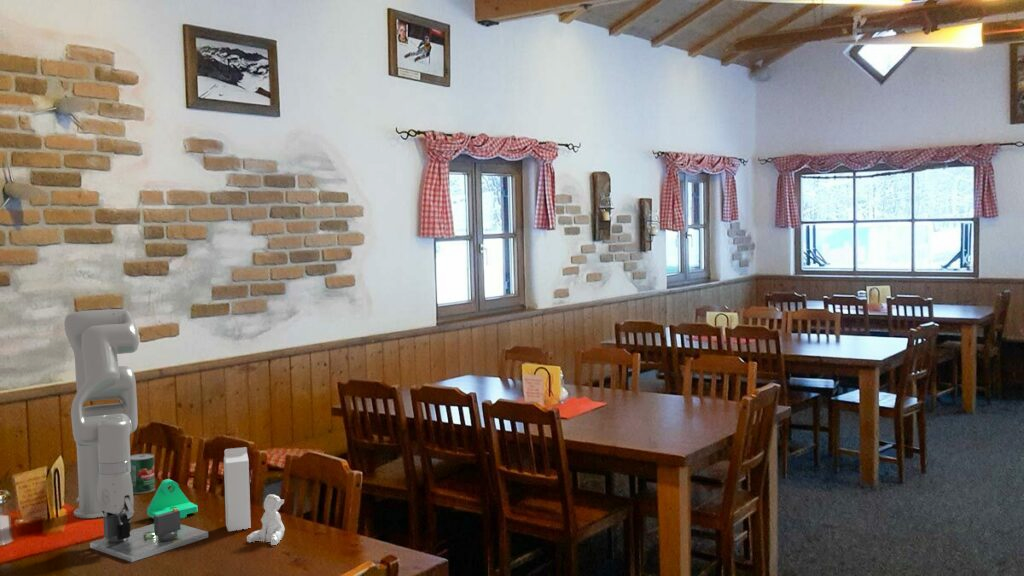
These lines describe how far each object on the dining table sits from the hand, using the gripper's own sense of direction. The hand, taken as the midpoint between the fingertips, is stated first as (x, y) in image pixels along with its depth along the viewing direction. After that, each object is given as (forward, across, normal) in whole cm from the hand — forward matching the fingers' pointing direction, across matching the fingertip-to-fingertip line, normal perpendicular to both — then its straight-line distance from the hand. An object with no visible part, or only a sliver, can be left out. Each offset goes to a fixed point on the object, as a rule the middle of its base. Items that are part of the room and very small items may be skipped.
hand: (117, 535), depth 232 cm
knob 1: (+1, 0, 0) cm, 1 cm away
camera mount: (+3, -11, +23) cm, 26 cm away
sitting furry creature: (+3, +30, +25) cm, 39 cm away
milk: (+3, +14, +27) cm, 31 cm away
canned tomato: (+3, -44, +34) cm, 56 cm away
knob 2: (+1, +10, +8) cm, 13 cm away
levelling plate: (+3, +5, +6) cm, 8 cm away
